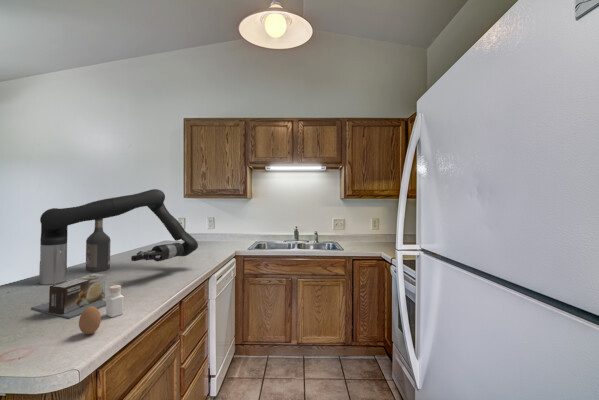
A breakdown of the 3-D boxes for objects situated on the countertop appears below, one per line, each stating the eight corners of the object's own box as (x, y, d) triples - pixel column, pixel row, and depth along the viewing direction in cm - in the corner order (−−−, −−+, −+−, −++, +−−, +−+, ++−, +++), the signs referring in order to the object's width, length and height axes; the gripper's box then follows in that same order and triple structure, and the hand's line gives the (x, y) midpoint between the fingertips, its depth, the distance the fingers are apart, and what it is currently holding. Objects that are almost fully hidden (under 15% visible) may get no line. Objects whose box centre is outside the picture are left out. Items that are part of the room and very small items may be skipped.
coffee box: (92, 273, 111) (48, 284, 95) (106, 274, 110) (64, 286, 94) (91, 296, 111) (48, 312, 95) (105, 298, 110) (63, 314, 94)
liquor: (92, 273, 145) (93, 214, 145) (83, 270, 150) (84, 213, 150) (111, 269, 153) (112, 213, 153) (103, 267, 158) (104, 212, 158)
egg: (104, 329, 86) (105, 303, 86) (92, 338, 81) (93, 310, 80) (87, 329, 86) (87, 303, 85) (74, 338, 80) (74, 309, 80)
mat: (31, 309, 99) (31, 307, 99) (75, 296, 113) (75, 294, 113) (69, 318, 92) (69, 317, 92) (111, 304, 106) (111, 302, 106)
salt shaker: (111, 318, 94) (111, 289, 94) (105, 315, 96) (105, 286, 96) (124, 314, 97) (124, 286, 97) (118, 311, 99) (118, 284, 99)
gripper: (154, 243, 143) (121, 248, 127) (174, 245, 139) (144, 251, 122) (153, 258, 143) (121, 265, 127) (174, 261, 139) (143, 269, 122)
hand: (132, 258), depth 125 cm, fingers closed
